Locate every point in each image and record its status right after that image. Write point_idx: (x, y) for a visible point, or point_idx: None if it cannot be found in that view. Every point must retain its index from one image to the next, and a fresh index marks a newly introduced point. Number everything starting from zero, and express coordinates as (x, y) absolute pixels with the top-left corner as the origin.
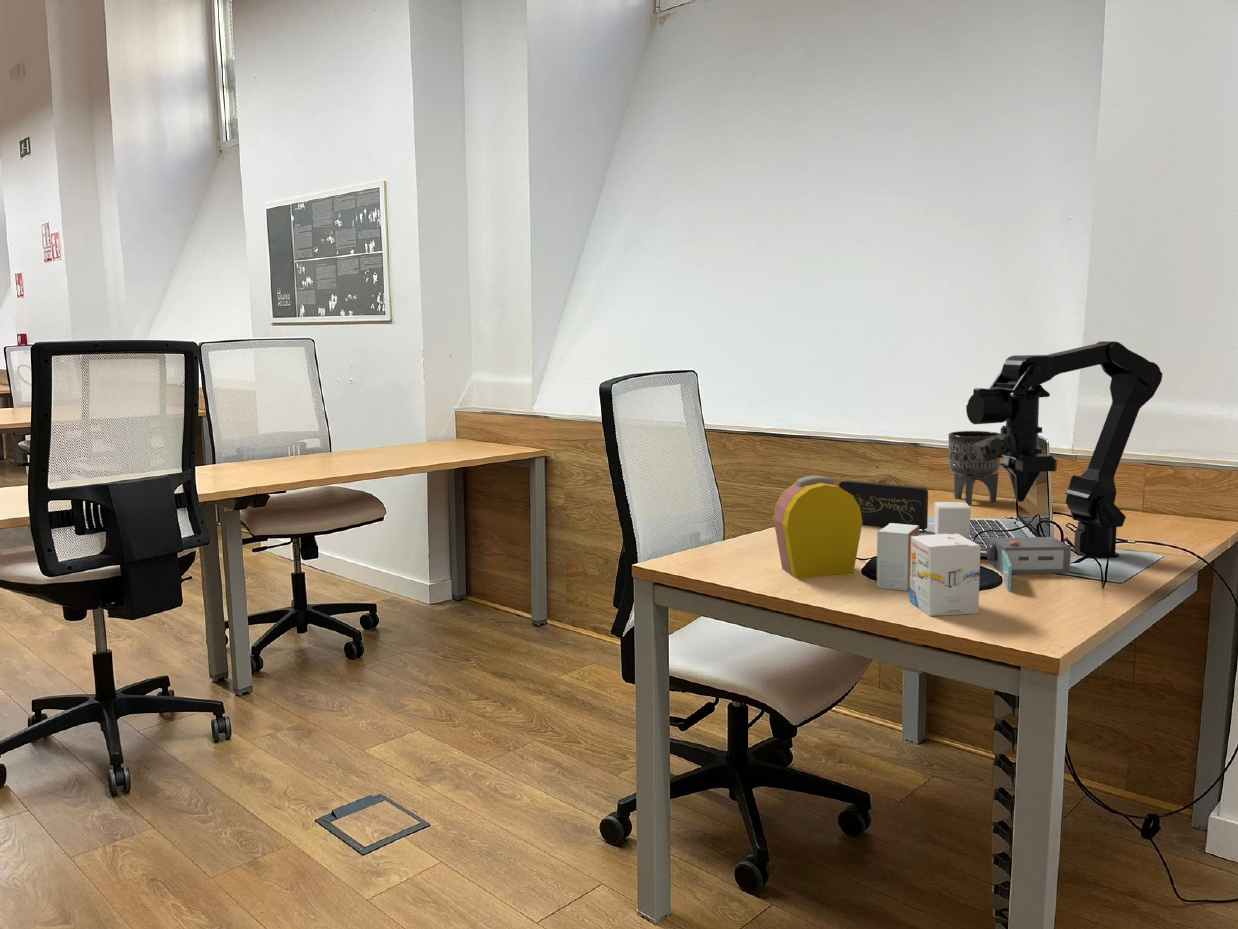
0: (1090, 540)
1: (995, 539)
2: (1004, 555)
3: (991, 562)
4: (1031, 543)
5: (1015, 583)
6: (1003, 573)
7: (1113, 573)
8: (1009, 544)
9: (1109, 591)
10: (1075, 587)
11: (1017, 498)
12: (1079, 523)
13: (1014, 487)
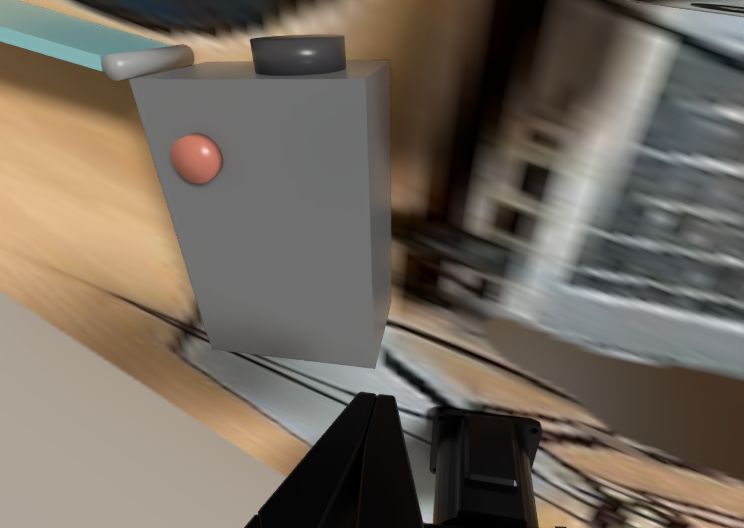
0: (452, 465)
1: (323, 100)
2: (30, 35)
3: (354, 61)
4: (246, 244)
5: None
6: (122, 34)
7: (267, 381)
8: (208, 134)
9: (89, 295)
10: (98, 235)
11: (348, 407)
12: (507, 513)
13: (359, 498)
